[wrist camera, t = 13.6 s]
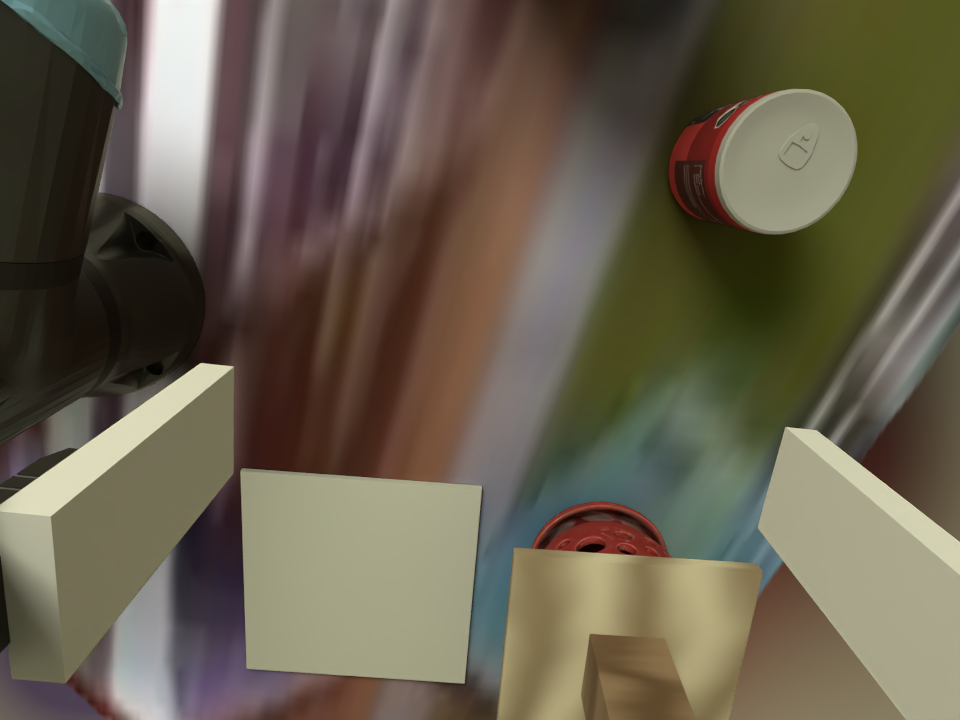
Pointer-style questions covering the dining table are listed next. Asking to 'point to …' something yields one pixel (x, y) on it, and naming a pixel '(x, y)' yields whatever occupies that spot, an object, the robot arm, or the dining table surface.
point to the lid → (624, 636)
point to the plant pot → (602, 531)
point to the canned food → (765, 162)
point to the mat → (358, 574)
